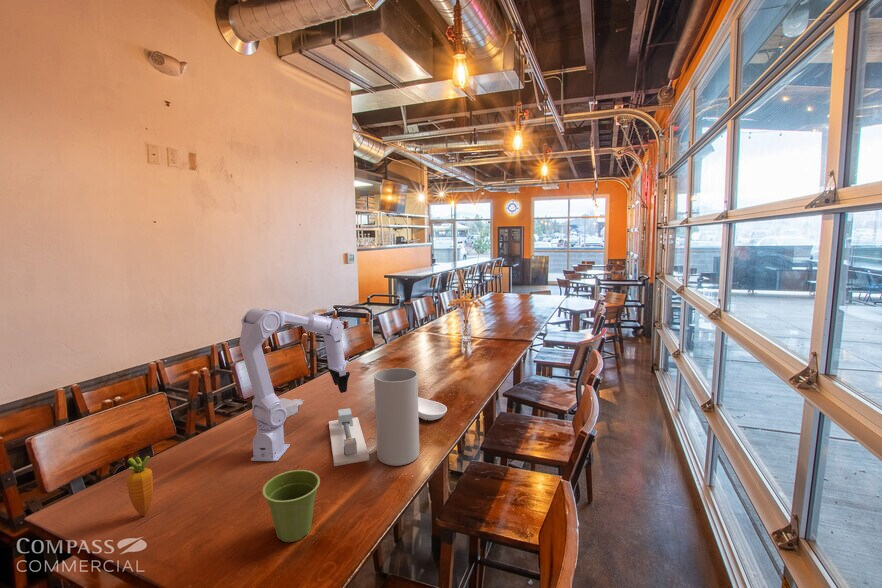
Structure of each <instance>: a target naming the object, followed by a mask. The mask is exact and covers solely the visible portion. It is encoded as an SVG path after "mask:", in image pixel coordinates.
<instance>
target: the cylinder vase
mask: <svg viewBox="0 0 882 588" xmlns="http://www.w3.org/2000/svg"><path fill="white" fill-rule="evenodd" d="M418 375H419V374H418V372H417V371H416V370H414V369H411V368H406V367H405V368H404V367H395V368H394V367H393V368H392V367H391V368H386V369H382V370H379V371H377V372H376V373H375V374H374V375H373V376H374V377H373V381H374V404H375V405H374V407H375V429H376V431H375V434H376V437H375V438H376V455H377V457H376V458H377V459H378V461H380V462H381V463H382V464H384V465H388V466H393V467H394V466H395V467H397V466H399V467H400V466H404V465H408V464H410V463H413V462H414V461H415V460H417V458H418V457H419V456H420V421H419V420H420V419H419V418H420V417H419V414H418V397H419V380H418Z"/></svg>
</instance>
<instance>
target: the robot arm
mask: <svg viewBox="0 0 882 588" xmlns="http://www.w3.org/2000/svg"><path fill="white" fill-rule="evenodd" d="M240 321H241V326H242V328H241V331H240V338H239V348H240V350H241V354H242V355H241V356H242V358H243V362H244V364H245V368H246V372H247V375H248V379H249V382H250V385H251V388H252V392H253V396H254V398H253V399H252V400H251V404H252V409H251V414H252V417H253V419H254V420H256V427H257V429H256V434H255V435H254V437H253V439H252V450H253V451H252V453H253V457H251V458H250V461H251V462H277V461H279V459H281V457H282V456H283V455H284V453H286V451H287V450H288V449H289V448H290V446H291V444H290V443H285V431H284V423H285V422H286V420H287V418H288V417H287V411H286V409H285V408H284V407H283V406H282V404H281V401H280V400H279V399H280V398H279V397H278V396H277V394H275V389H274V386H273V383H272V380H271V376H270V372H269V368H268V365H267V361H266V359H265V358H266V357H265V355H264V351H263V347H262V345H263V344H264V342H265V341H266V340H268V338H269V337H270V336H271V335H273V334H274V333H275V332H276V331H277V330H278V329H279V327H280V328H281V327H282V328H283V326H284V325H285V324H288V325H294V326H295V325H296V326H302V328H303V329H304V331H306V332H310V333H316V334H321V335H323V340H324V347H325V352H326V358H327V366H326V369H327V371H328V373H330V376H331V379H332V382H333V384H334V386H337V388H338V391H339V392H340V394H342V393H347V390H348V382H349V378H350V375H351V372H350V371H346V366H347V365H349V363H350V362H349V360H347V359H345V353H344V347H343V341H342V340H343V331H344V328H345V327H344V326H345V325H344V324H343V323H342V321H340V319H338V318H331V317H330V316H328V315H324V316H323V315H320V314H319V313H318V312H312V313H307V314H306V315H305V316H303V315H300V314H296V313H292V312H289V311H284V310H280V309H279V310H277V309H263V308H262V309H259V308H254V307H253V308H251V309H249V310H248V311H246V312H245V314H244V316H243V317H242V319H240ZM286 417H287V418H286Z"/></svg>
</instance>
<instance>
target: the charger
mask: <svg viewBox="0 0 882 588" xmlns="http://www.w3.org/2000/svg"><path fill="white" fill-rule="evenodd" d="M279 400H280V401H281V404H282V406H283V407H284V408H285V409H286V411H287V417H286V419H287V418H289V417H291V416H293V415H296V414H298V412H299V407H300V406H302V405H303V404H304V402H305V399H303V400H302V399H301V398H299V399H298V398H294V399H288V398H284V397H281V398H279Z"/></svg>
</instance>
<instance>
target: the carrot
mask: <svg viewBox="0 0 882 588" xmlns="http://www.w3.org/2000/svg"><path fill="white" fill-rule="evenodd" d="M150 459H151V458H150V456H148V455H146V456H145V457H144V460H143V461H142V459H141V458H140V457H139V456H136V457H135V459H134V458H133V457H130V458H128V460H127V463H129V464H130V465H131V466H129V467H128V470H131V472H129V474H128V475H127V477H126V485H127V491H128V495H129V499H130V502H131V504H132V506H133V508H134V509H135V511H136V512H137V513H138V514H139V515H140V516H142V517H146V516H147V514H148V512H149V510H150V507H151V504H152V501H153V494H154V478H153V471H152V469H150V468H148V467H146V465H147V463H148V461H149V460H150Z"/></svg>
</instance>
